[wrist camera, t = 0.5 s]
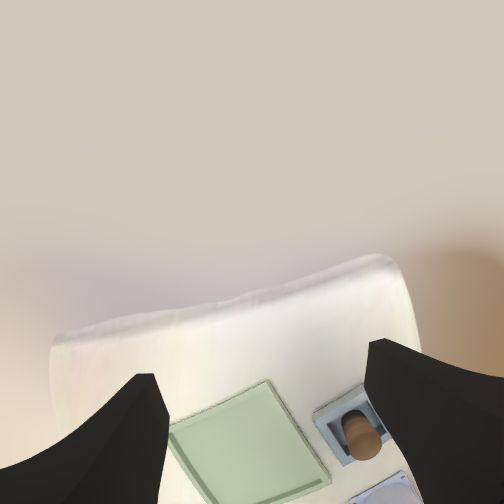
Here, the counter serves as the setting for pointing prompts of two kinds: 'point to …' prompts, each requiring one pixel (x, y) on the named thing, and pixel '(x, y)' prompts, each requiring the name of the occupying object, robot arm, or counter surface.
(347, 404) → the blue-grey square socket
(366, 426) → the dowel
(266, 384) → the tray
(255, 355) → the counter surface
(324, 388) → the counter surface
